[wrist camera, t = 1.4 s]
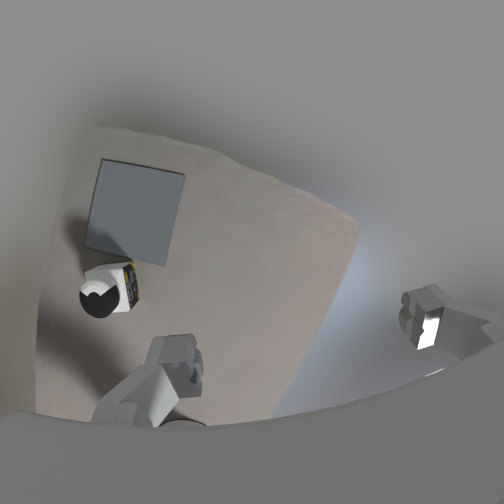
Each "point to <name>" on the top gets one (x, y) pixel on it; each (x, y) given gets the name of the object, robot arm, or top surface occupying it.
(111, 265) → the medicine bottle
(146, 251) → the dark rubber mat
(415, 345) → the robot arm
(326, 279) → the top surface
